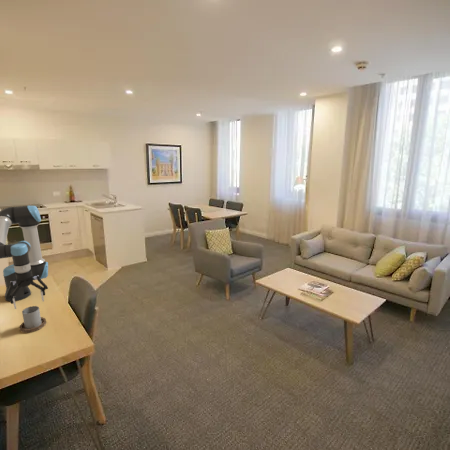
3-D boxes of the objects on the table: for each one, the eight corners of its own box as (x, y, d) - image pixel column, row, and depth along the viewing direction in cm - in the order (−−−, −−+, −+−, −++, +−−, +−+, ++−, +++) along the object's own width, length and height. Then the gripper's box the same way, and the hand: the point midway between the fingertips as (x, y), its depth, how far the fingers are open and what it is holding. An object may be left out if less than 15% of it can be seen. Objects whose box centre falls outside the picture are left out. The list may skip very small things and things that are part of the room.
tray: (19, 324, 173) (19, 322, 173) (44, 317, 181) (44, 314, 180) (21, 335, 163) (20, 332, 163) (47, 327, 171) (47, 324, 170)
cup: (33, 329, 167) (30, 314, 164) (21, 328, 169) (18, 312, 166) (44, 321, 175) (42, 306, 172) (33, 319, 177) (30, 305, 174)
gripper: (-5, 279, 152) (3, 314, 158) (49, 267, 167) (54, 300, 173) (-5, 274, 158) (2, 308, 164) (47, 263, 173) (53, 295, 179)
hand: (29, 304), depth 169 cm, fingers open, 13 cm apart
